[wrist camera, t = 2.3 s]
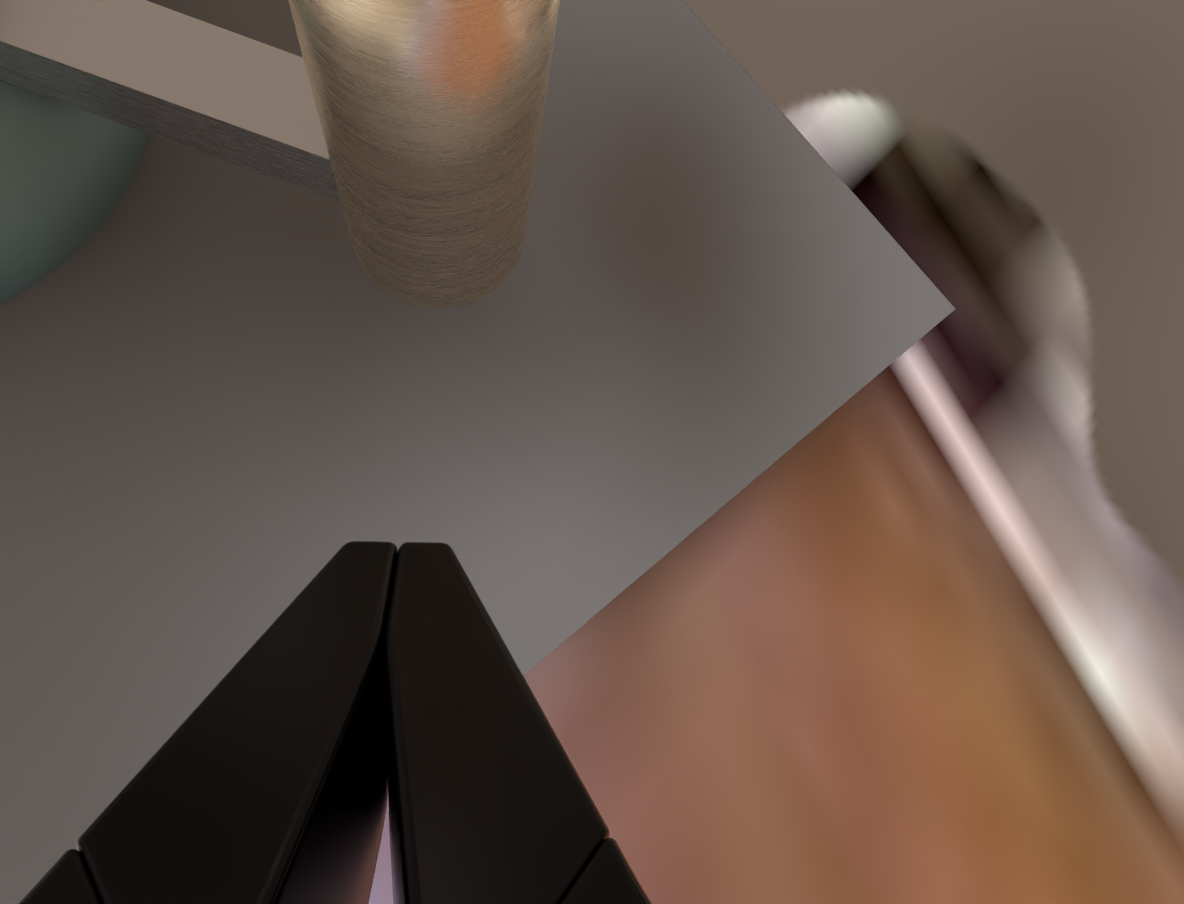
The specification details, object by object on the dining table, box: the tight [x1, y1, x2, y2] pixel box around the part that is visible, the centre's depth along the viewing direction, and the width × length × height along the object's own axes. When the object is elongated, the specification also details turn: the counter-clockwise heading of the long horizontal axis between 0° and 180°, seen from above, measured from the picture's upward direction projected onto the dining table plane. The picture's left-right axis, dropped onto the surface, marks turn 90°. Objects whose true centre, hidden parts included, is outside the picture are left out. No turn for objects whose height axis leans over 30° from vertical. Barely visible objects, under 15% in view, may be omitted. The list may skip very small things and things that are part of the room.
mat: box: [0, 0, 955, 904], centre depth 17 cm, size 19×19×1 cm
